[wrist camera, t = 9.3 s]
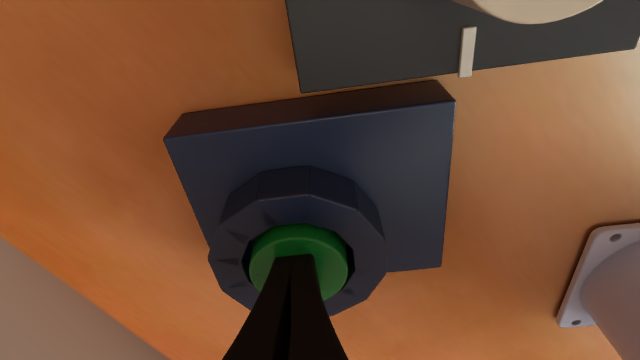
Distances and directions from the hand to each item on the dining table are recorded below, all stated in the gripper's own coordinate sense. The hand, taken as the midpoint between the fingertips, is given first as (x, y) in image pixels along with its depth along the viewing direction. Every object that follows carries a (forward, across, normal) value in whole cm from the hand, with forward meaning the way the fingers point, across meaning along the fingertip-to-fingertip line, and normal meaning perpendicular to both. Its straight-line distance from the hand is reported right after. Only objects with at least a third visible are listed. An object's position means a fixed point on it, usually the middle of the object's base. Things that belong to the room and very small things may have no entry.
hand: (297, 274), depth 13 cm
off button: (+2, 0, 0) cm, 2 cm away
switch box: (+4, -1, -1) cm, 5 cm away
